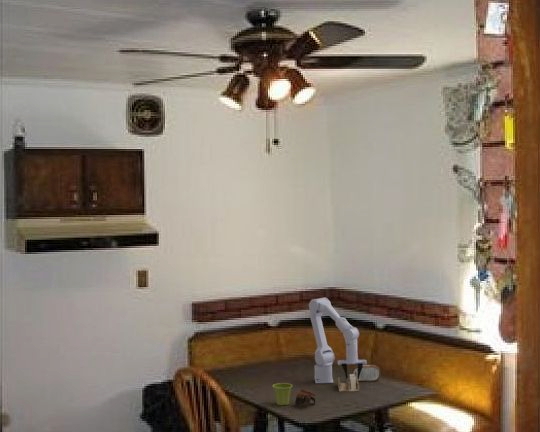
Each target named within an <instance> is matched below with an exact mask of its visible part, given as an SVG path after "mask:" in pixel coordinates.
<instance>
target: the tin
mask: <svg viewBox="0 0 540 432" xmlns="http://www.w3.org/2000/svg"><path fill="white" fill-rule="evenodd" d="M351 374H354V375H355V377H357V374H358V369H357V364H355V366H353V367H352V370H351ZM380 377H381V369H380V367H379V366H377V365H375V364H363V368H362V370H361V372H360V376H359V379H358V378H357V379H358V382H376V381H378V380H379V379H380Z"/></svg>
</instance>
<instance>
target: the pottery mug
mask: <svg viewBox="0 0 540 432" xmlns="http://www.w3.org/2000/svg"><path fill="white" fill-rule="evenodd" d="M310 401H312V402H313V405H315V404H316V394H315V393H313V392H311V391H310V390H306V389H301V390H300V391H299V392H298V393H297V394H296V397H295V400H294V406H295V407H298V408H300V409H303V406H304V407H305V408H306V407H309V404H310Z"/></svg>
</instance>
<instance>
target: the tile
mask: <svg viewBox="0 0 540 432" xmlns="http://www.w3.org/2000/svg"><path fill="white" fill-rule="evenodd" d="M349 382H350V387H351V389H356V378H355V375H354V374H352V373H350V374H349Z"/></svg>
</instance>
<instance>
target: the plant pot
mask: <svg viewBox="0 0 540 432" xmlns="http://www.w3.org/2000/svg"><path fill="white" fill-rule="evenodd" d="M292 387H293V384H291V383H287V382H279V383H274V384H272V388H273V391H274V397H275V401H276V402H275V403H276V405H277V406H287V405H289V404H290V401H291V400H290V399H291V391H292Z"/></svg>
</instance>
